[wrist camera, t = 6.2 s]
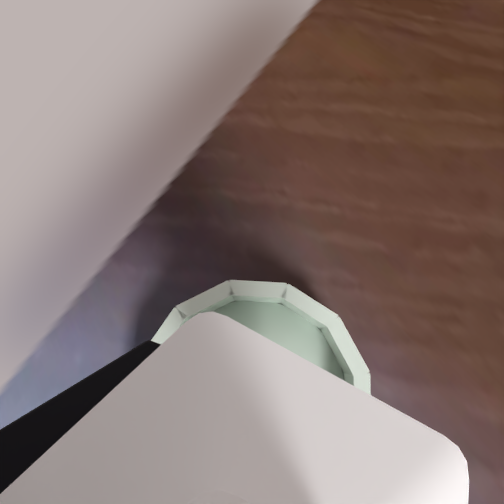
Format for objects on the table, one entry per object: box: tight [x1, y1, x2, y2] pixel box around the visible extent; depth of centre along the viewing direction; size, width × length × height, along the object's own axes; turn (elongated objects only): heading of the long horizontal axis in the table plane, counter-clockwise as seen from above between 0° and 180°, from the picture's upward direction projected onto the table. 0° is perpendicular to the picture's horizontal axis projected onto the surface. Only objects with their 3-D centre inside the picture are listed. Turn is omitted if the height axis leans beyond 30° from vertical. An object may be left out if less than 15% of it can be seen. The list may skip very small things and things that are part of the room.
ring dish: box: [151, 280, 370, 395], centre depth 18 cm, size 10×10×2 cm
